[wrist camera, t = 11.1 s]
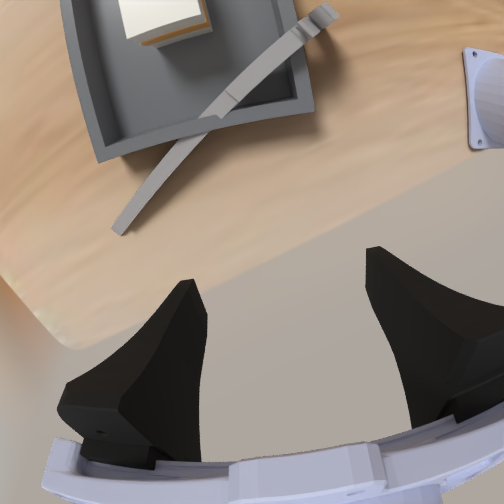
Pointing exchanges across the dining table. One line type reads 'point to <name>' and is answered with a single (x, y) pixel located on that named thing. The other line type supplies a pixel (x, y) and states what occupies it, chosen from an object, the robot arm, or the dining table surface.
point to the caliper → (228, 104)
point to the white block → (164, 20)
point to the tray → (178, 73)
